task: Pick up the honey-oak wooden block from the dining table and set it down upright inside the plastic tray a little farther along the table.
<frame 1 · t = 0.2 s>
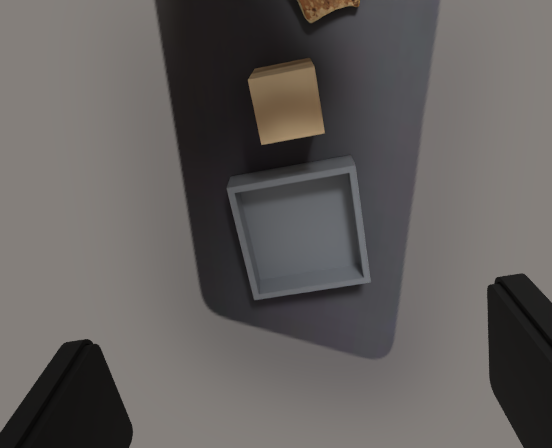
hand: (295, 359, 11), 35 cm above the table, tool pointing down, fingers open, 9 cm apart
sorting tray: (300, 222, 48), on the table
oak block: (287, 91, 43), on the table
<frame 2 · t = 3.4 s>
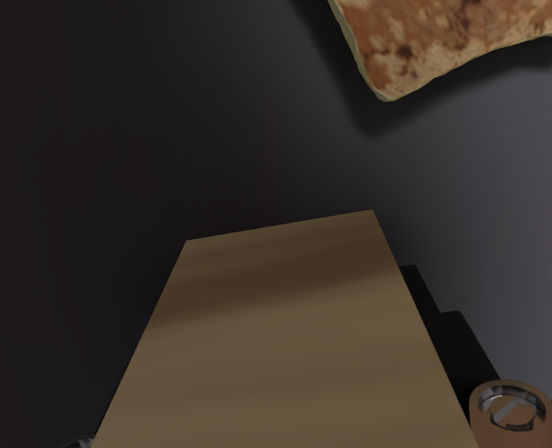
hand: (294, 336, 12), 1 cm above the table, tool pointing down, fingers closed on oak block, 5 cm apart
oak block: (294, 304, 14), on the table, touching gripper
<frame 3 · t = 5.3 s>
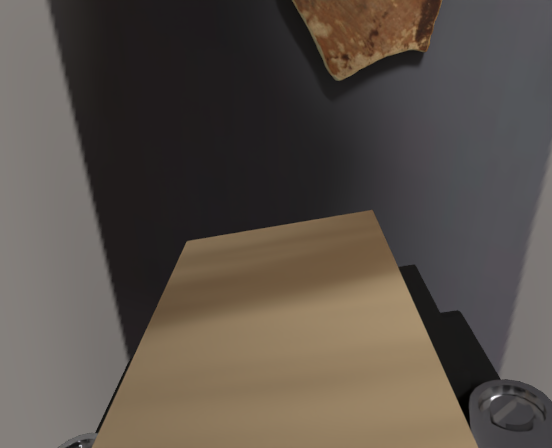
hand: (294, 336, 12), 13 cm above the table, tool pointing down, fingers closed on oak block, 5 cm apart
oak block: (294, 305, 14), point 12 cm above the table, touching gripper
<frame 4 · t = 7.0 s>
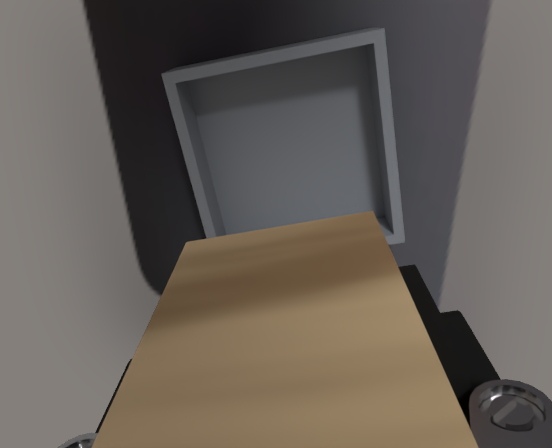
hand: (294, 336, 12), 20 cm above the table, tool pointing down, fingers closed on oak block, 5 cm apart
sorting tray: (290, 148, 30), on the table
oak block: (294, 306, 13), point 18 cm above the table, touching gripper
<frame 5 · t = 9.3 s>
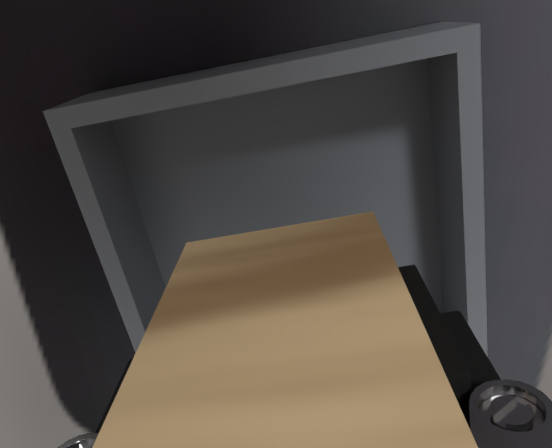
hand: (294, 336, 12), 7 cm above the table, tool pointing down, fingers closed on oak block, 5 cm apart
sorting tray: (291, 224, 18), on the table
oak block: (294, 306, 13), point 5 cm above the table, touching gripper
when the fingers open (3 cm above the table, at t = 10.9 s): oak block drops 1 cm, resting on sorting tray.
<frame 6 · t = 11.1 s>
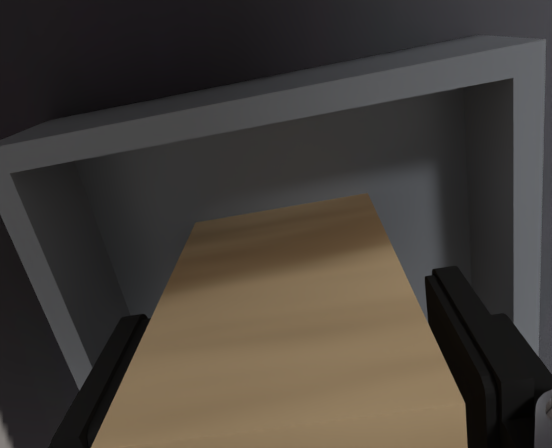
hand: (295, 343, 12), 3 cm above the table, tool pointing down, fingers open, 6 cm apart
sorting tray: (293, 275, 15), on the table
oak block: (295, 283, 15), point 1 cm above the table, touching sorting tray
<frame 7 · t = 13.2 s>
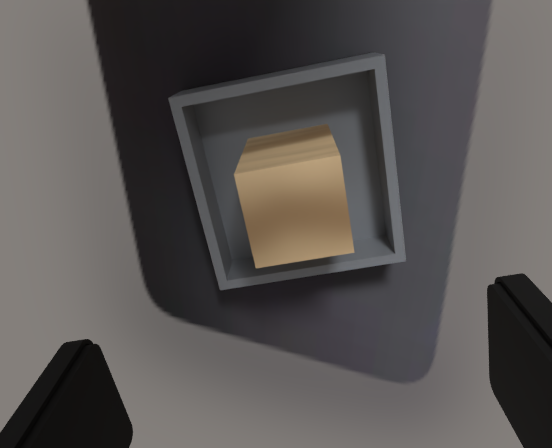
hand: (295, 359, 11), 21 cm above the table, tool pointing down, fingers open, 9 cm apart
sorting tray: (293, 168, 31), on the table
oak block: (294, 169, 30), point 1 cm above the table, touching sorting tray
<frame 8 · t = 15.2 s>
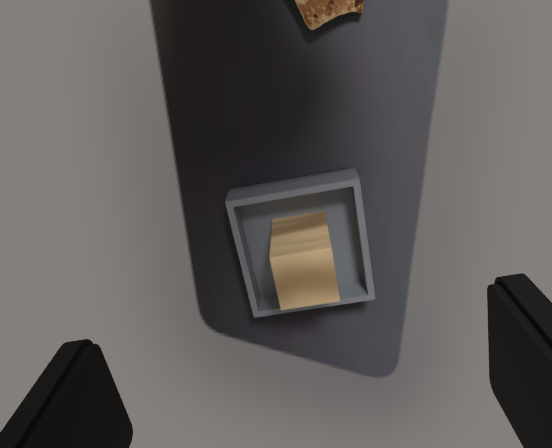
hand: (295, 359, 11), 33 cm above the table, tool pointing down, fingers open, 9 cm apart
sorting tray: (302, 236, 47), on the table
oak block: (302, 238, 46), point 1 cm above the table, touching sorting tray
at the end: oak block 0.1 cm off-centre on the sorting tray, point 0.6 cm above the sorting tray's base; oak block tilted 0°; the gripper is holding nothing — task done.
